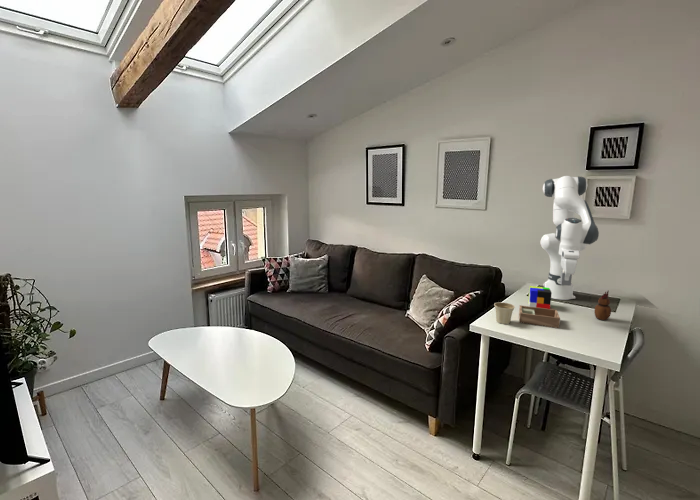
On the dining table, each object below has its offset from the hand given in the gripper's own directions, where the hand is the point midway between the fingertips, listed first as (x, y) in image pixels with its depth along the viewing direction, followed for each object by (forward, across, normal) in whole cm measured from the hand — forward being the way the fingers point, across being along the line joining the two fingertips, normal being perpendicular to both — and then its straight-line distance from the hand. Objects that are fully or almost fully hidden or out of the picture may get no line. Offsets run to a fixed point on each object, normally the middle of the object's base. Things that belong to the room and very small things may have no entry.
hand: (565, 278), depth 179 cm
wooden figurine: (+21, -8, +19) cm, 30 cm away
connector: (+3, 0, 0) cm, 3 cm away
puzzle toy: (+22, -17, -9) cm, 29 cm away
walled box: (+21, +8, -11) cm, 25 cm away
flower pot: (+21, +17, -27) cm, 38 cm away
